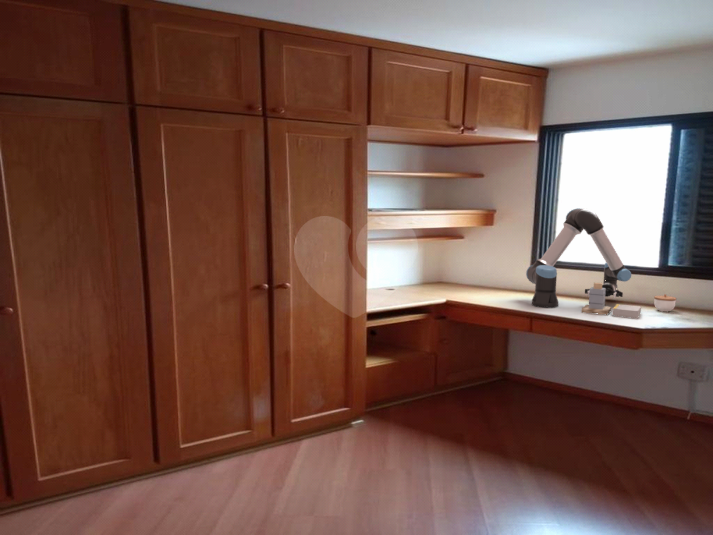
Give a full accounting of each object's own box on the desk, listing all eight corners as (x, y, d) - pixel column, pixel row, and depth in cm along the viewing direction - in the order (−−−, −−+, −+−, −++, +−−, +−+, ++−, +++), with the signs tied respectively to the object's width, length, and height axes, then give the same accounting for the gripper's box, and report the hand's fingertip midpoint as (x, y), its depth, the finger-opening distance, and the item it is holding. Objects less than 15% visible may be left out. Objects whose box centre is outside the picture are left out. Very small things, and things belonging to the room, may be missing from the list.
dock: (612, 315, 277) (612, 308, 276) (616, 311, 288) (616, 304, 287) (637, 318, 270) (637, 310, 269) (640, 313, 281) (641, 306, 281)
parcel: (594, 288, 284) (594, 283, 283) (593, 287, 287) (593, 282, 287) (602, 289, 282) (602, 283, 282) (601, 288, 286) (601, 282, 286)
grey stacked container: (588, 308, 285) (589, 288, 284) (590, 305, 291) (592, 286, 290) (602, 309, 281) (603, 289, 280) (604, 307, 287) (605, 288, 286)
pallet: (581, 312, 285) (581, 308, 285) (586, 308, 296) (586, 304, 295) (607, 315, 278) (607, 311, 277) (611, 311, 288) (611, 307, 288)
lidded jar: (663, 313, 283) (664, 296, 282) (648, 309, 293) (649, 293, 292) (679, 312, 285) (681, 295, 284) (664, 308, 295) (666, 292, 294)
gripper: (629, 297, 303) (624, 303, 286) (584, 293, 317) (577, 299, 300) (630, 285, 302) (625, 290, 285) (585, 281, 316) (578, 286, 299)
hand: (601, 294), depth 292 cm, fingers open, 13 cm apart
